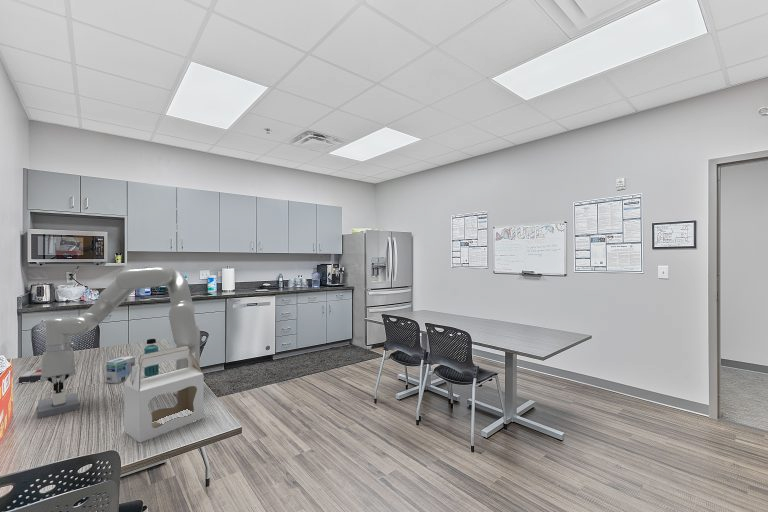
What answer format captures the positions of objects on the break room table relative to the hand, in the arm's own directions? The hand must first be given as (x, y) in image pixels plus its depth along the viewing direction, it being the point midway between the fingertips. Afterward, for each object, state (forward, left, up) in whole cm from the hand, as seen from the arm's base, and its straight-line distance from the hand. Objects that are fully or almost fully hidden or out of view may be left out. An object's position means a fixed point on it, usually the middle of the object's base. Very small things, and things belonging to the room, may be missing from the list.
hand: (58, 391), depth 143 cm
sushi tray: (+59, +5, -8) cm, 60 cm away
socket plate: (+3, 0, -7) cm, 8 cm away
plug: (0, 0, -7) cm, 7 cm away
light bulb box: (+26, -24, -8) cm, 36 cm away
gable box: (-47, -28, -8) cm, 55 cm away
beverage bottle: (+19, -36, -8) cm, 41 cm away
